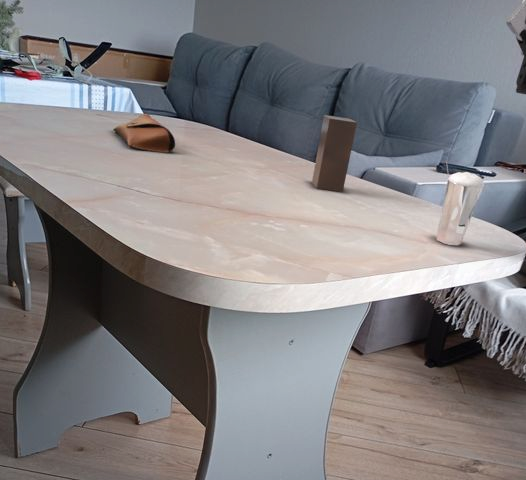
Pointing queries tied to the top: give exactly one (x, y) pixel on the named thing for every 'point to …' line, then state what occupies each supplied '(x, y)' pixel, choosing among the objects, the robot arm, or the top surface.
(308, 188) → the top surface
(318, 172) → the walnut pillar
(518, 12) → the robot arm
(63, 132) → the top surface
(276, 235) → the top surface
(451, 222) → the milkshake
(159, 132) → the sunglasses case
